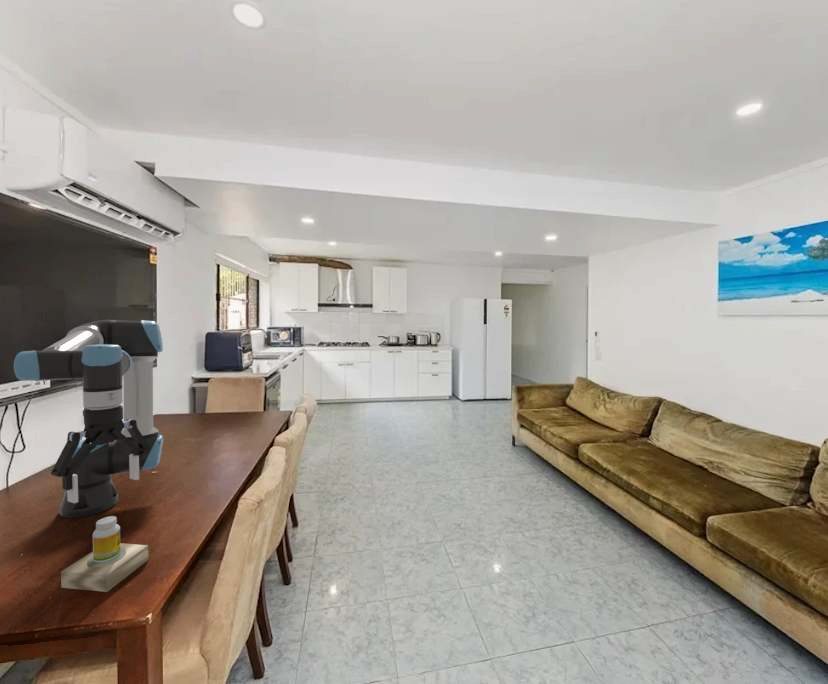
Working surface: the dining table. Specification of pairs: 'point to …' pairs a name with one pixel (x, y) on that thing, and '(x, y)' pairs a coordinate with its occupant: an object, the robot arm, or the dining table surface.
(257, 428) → the dining table surface
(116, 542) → the supplement bottle
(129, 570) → the pedestal
